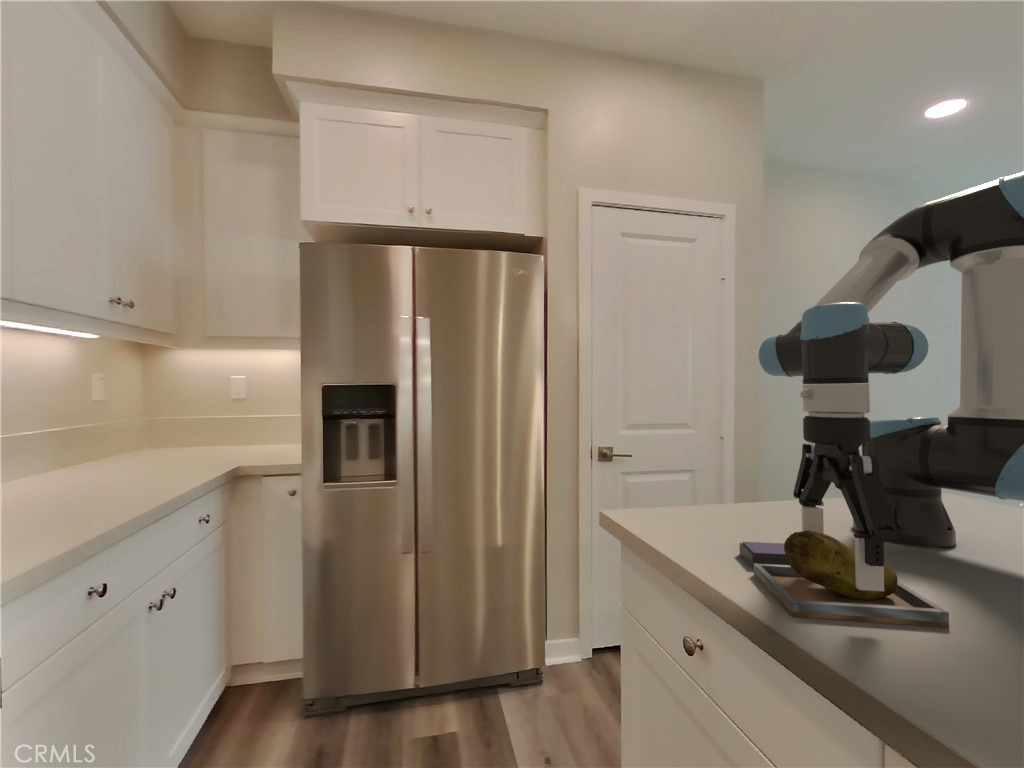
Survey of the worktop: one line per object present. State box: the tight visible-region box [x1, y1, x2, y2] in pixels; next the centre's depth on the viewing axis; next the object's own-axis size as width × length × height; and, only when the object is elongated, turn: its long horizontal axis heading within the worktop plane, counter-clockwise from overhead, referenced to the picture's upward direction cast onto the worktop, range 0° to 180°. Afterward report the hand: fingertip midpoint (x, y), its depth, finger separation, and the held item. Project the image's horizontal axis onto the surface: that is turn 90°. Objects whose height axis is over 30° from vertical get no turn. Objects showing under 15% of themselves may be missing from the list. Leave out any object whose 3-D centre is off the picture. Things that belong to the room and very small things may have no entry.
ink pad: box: [739, 541, 789, 569], centre depth 73 cm, size 8×6×2 cm
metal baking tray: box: [753, 563, 950, 628], centre depth 60 cm, size 18×13×2 cm
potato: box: [784, 530, 898, 600], centre depth 61 cm, size 8×13×8 cm, turn 55°
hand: (838, 567), depth 60 cm, fingers open, 13 cm apart
